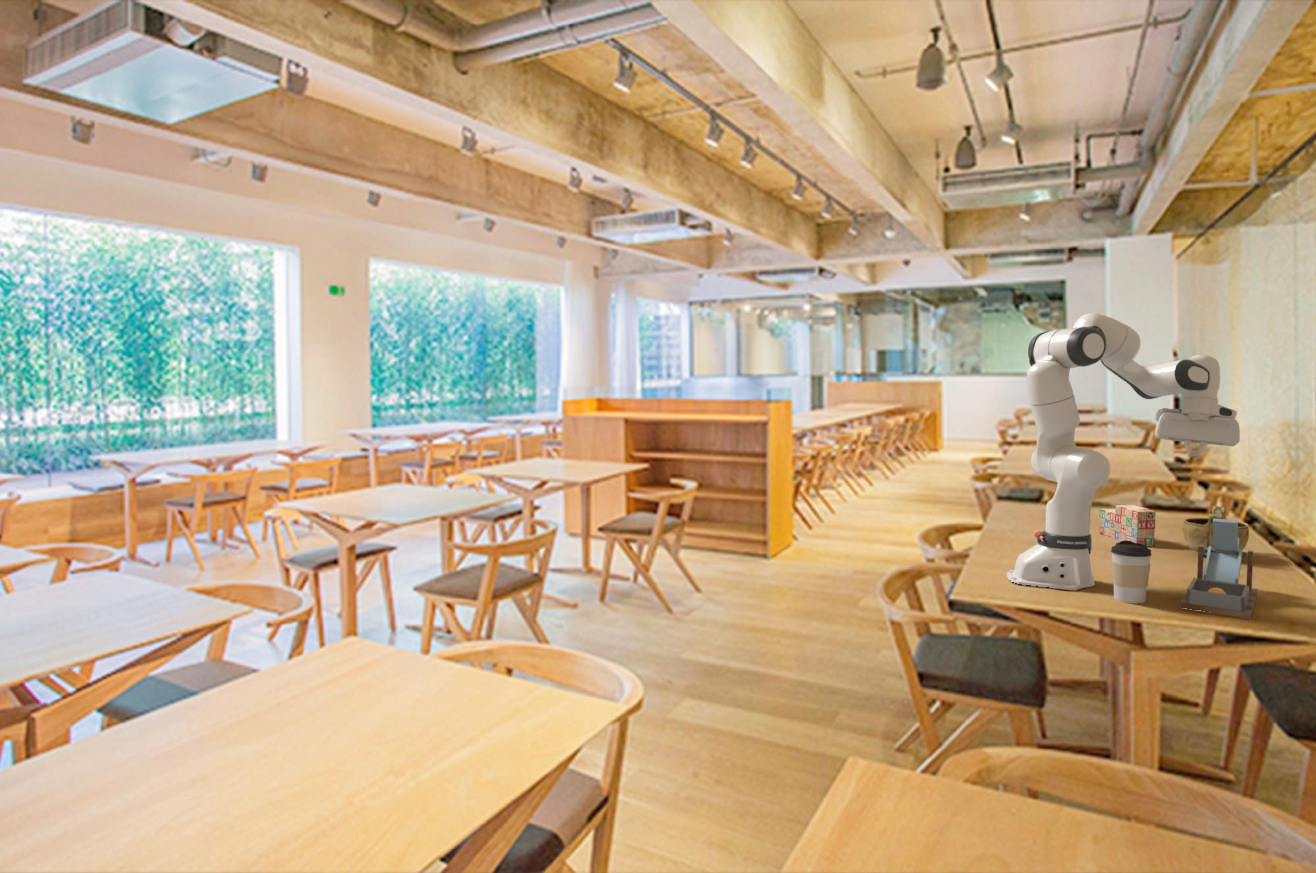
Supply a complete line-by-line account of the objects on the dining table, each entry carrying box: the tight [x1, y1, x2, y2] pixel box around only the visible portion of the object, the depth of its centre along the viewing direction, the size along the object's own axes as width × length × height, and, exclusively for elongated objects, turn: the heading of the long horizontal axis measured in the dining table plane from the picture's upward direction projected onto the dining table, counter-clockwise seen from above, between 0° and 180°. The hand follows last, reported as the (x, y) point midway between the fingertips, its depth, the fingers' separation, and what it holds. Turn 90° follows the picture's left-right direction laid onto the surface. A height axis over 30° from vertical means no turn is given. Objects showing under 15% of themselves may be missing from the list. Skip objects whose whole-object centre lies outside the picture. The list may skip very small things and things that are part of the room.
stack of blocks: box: [1099, 504, 1157, 547], centre depth 268 cm, size 21×6×12 cm, turn 1°
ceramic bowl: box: [1182, 505, 1250, 557], centre depth 243 cm, size 22×17×15 cm
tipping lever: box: [1203, 518, 1247, 585], centre depth 201 cm, size 18×9×16 cm, turn 138°
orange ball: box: [1208, 588, 1226, 594], centre depth 189 cm, size 4×4×4 cm
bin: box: [1186, 577, 1249, 612], centre depth 192 cm, size 14×12×4 cm
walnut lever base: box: [1179, 545, 1259, 620], centre depth 196 cm, size 26×14×12 cm, turn 139°
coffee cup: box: [1110, 541, 1152, 605], centre depth 199 cm, size 9×9×15 cm
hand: (1193, 457), depth 221 cm, fingers closed
